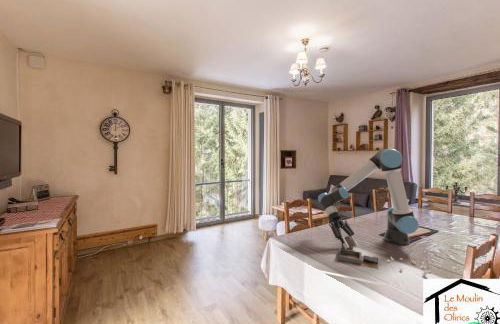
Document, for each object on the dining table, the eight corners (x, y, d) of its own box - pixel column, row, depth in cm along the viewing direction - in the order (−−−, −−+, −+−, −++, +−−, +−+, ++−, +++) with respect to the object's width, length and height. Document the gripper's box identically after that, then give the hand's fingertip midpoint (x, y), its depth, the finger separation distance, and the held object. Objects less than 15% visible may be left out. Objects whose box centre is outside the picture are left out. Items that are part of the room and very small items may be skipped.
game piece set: (440, 277, 119) (441, 269, 119) (402, 278, 117) (402, 270, 117) (411, 260, 138) (411, 253, 138) (378, 260, 137) (378, 254, 137)
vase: (339, 248, 153) (339, 234, 152) (349, 248, 153) (350, 234, 153) (344, 253, 146) (344, 238, 146) (355, 252, 146) (355, 238, 146)
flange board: (377, 260, 136) (377, 258, 136) (378, 271, 124) (378, 269, 124) (339, 253, 145) (339, 252, 145) (337, 263, 132) (337, 261, 132)
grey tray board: (377, 259, 136) (377, 254, 135) (378, 268, 125) (378, 262, 125) (339, 252, 144) (339, 247, 144) (337, 260, 133) (337, 255, 133)
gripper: (340, 215, 167) (359, 247, 153) (318, 218, 159) (336, 252, 145) (347, 209, 162) (367, 242, 148) (324, 212, 154) (343, 246, 140)
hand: (352, 247), depth 146 cm, fingers closed on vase, 7 cm apart
